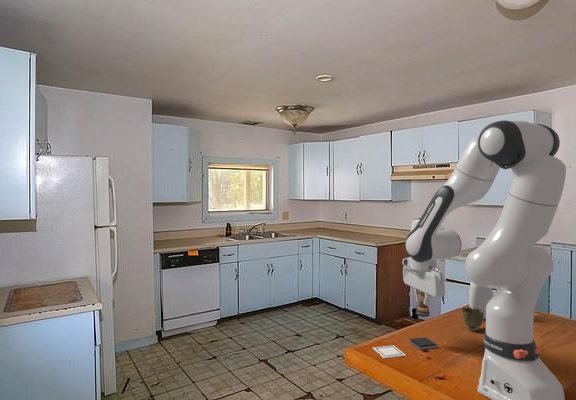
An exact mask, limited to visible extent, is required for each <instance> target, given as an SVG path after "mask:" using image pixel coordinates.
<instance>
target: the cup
mask: <svg viewBox="0 0 576 400" xmlns="http://www.w3.org/2000/svg"><path fill="white" fill-rule="evenodd" d="M461 311H462V318H463V322H464V324H465V325H466V326H467V329H468V331H470V332H477V331H479V328H480V327H481V326H482V324H483V320H484V319H483V314H484V311H483V312H481V309H480V310H479V308H476V309H475V308H473V310H472V308H471V307H470V306H469V307H468V306H467V307H462V309H461Z"/></svg>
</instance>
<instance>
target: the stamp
mask: <svg viewBox="0 0 576 400" xmlns="http://www.w3.org/2000/svg"><path fill="white" fill-rule="evenodd" d="M418 294H419V302H418V305H416V310H415V315H416V316H418V317H423V318H427V317H430V307H429V305H424V304H423V299H425V295H424V292H422V291H420V290H418Z"/></svg>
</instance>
